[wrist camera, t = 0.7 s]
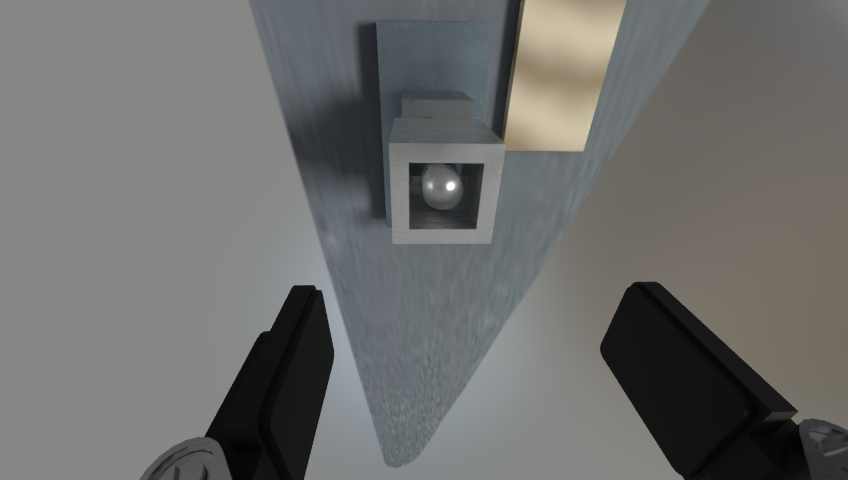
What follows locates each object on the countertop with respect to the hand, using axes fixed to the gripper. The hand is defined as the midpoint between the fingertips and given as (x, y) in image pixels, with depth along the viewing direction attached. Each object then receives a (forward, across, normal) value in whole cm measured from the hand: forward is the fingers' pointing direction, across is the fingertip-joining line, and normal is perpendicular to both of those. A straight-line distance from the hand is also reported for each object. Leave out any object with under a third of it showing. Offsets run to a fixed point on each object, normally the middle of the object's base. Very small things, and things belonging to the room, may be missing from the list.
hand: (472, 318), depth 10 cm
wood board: (+24, -11, -6) cm, 27 cm away
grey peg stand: (+24, 0, 0) cm, 24 cm away
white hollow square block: (+16, 0, 0) cm, 16 cm away
